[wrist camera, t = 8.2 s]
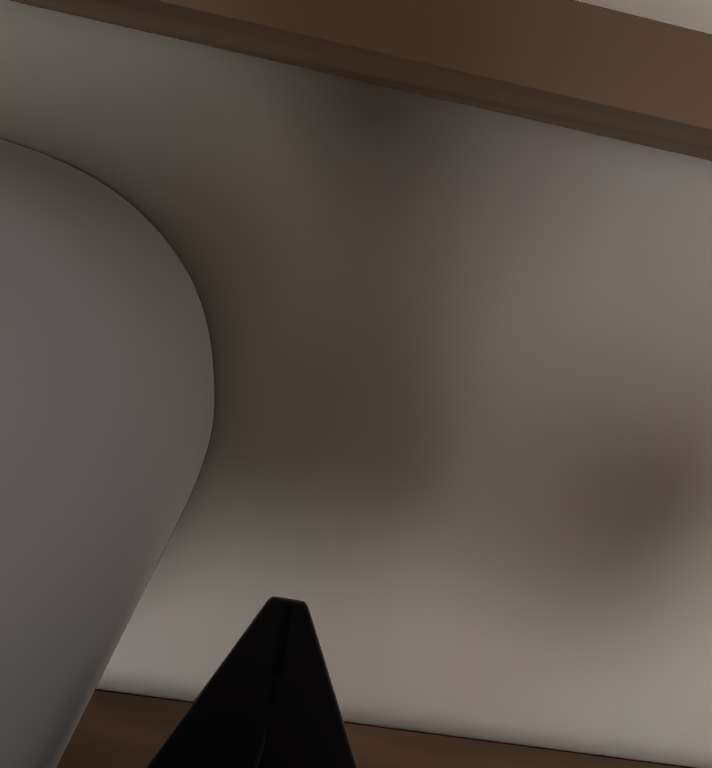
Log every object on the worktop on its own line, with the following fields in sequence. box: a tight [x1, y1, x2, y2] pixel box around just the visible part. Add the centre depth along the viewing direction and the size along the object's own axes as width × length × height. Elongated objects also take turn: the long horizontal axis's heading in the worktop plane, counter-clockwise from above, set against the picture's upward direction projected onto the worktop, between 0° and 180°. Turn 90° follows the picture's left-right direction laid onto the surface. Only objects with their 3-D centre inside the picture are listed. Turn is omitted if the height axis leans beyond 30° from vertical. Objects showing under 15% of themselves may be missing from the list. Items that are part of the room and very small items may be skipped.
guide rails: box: [11, 0, 712, 768], centre depth 10 cm, size 17×41×4 cm, turn 79°
